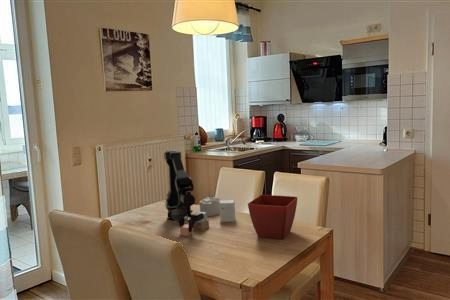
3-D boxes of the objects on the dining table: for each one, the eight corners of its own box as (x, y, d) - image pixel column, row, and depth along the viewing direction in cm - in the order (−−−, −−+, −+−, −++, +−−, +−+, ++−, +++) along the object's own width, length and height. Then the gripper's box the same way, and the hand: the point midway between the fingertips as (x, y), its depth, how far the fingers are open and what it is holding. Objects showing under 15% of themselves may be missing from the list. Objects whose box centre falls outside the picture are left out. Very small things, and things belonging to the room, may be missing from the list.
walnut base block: (193, 229, 204) (192, 222, 203) (199, 226, 209) (199, 218, 208) (202, 231, 201) (202, 223, 200) (209, 227, 206) (208, 220, 205)
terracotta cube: (180, 234, 196) (179, 226, 196) (185, 231, 200) (185, 224, 200) (187, 235, 194) (187, 228, 194) (192, 233, 198) (192, 225, 197)
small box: (235, 218, 218) (234, 199, 217) (234, 221, 213) (234, 202, 211) (221, 218, 219) (220, 200, 218) (220, 221, 214) (219, 203, 212)
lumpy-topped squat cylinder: (198, 212, 233) (197, 198, 232) (217, 208, 239) (217, 194, 238) (206, 216, 224) (205, 202, 223) (226, 212, 230) (225, 198, 229)
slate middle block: (193, 221, 204) (193, 214, 203) (199, 218, 208) (198, 211, 207) (201, 222, 201) (201, 215, 201) (207, 219, 205) (206, 212, 205)
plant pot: (262, 225, 203) (261, 194, 201) (298, 229, 195) (298, 196, 193) (248, 238, 186) (246, 203, 184) (287, 243, 178) (286, 206, 176)
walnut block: (178, 225, 212) (178, 218, 211) (181, 222, 215) (180, 215, 215) (186, 225, 211) (185, 218, 210) (188, 223, 215) (187, 215, 214)
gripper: (159, 203, 193) (161, 234, 195) (190, 207, 183) (192, 239, 185) (173, 198, 203) (175, 227, 205) (203, 201, 193) (205, 232, 195)
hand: (186, 231), depth 197 cm, fingers closed on terracotta cube, 4 cm apart
